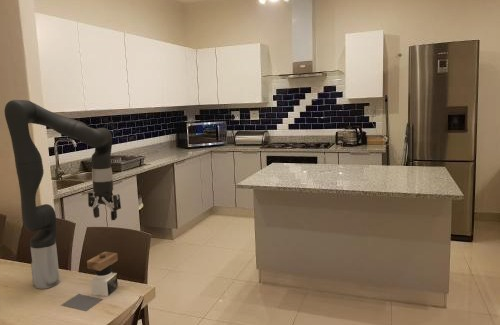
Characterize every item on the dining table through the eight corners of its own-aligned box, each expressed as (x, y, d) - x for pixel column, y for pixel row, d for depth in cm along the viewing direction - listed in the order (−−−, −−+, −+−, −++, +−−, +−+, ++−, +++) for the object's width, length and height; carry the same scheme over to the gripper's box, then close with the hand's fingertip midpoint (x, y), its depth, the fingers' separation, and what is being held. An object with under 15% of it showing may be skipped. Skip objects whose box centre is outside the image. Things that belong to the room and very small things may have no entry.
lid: (87, 268, 152) (86, 258, 151) (105, 258, 161) (104, 249, 160) (100, 271, 149) (99, 261, 149) (117, 260, 159) (117, 251, 158)
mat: (60, 307, 147) (60, 305, 146) (79, 296, 155) (78, 293, 155) (86, 313, 142) (86, 311, 142) (103, 301, 151) (103, 299, 151)
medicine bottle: (108, 298, 153) (106, 269, 151) (91, 296, 154) (89, 267, 152) (118, 289, 160) (116, 261, 158) (102, 287, 161) (99, 260, 159)
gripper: (81, 179, 156) (84, 219, 159) (110, 182, 151) (113, 223, 154) (95, 175, 163) (98, 213, 166) (123, 178, 158) (126, 217, 161)
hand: (105, 218), depth 160 cm, fingers open, 8 cm apart
